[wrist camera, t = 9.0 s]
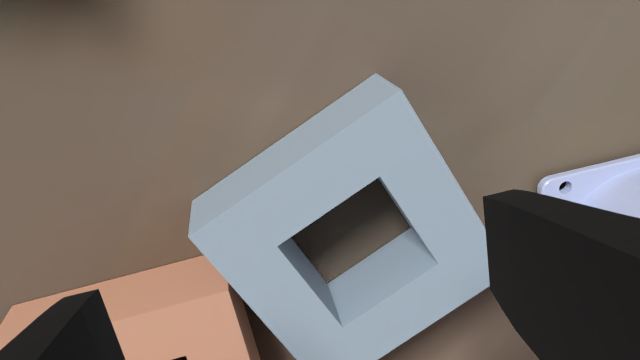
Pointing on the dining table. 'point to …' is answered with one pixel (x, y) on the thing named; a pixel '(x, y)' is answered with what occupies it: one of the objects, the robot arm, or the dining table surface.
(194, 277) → the pink square ring
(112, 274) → the dining table surface
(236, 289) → the pale blue square ring
